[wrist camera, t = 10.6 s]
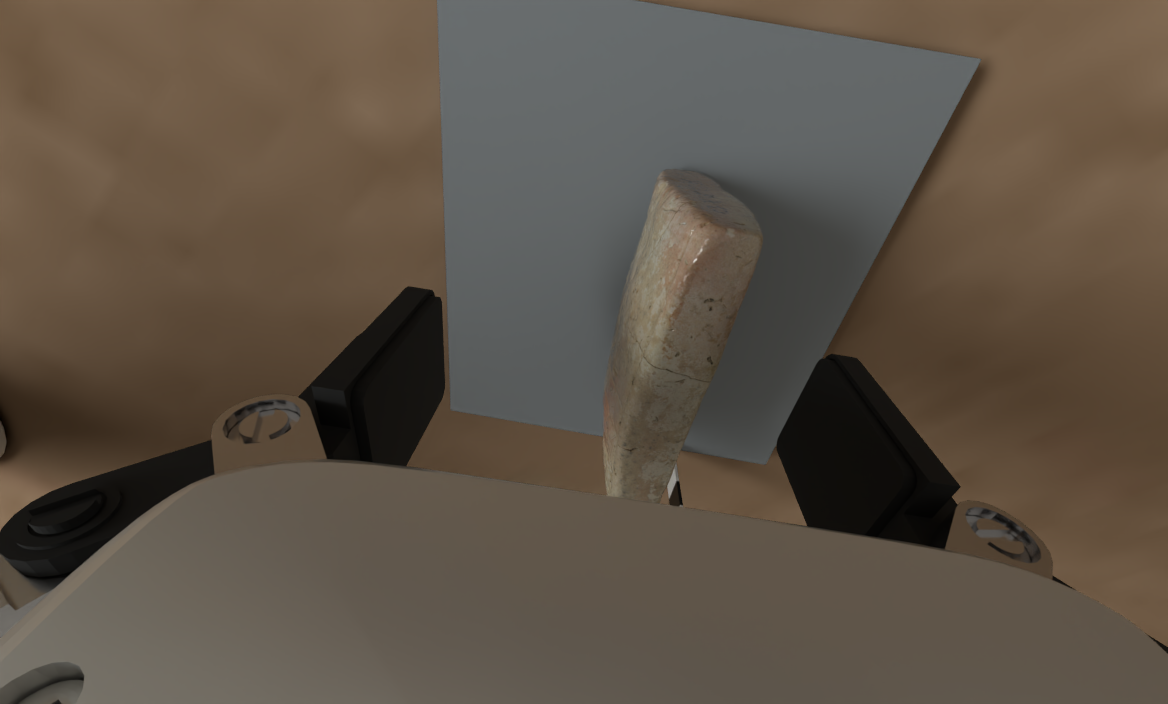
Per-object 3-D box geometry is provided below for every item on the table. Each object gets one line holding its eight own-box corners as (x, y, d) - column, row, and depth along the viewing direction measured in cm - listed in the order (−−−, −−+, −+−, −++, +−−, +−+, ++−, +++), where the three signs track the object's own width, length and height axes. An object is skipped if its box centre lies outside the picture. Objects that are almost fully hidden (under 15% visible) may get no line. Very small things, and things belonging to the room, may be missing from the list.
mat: (456, 398, 20) (450, 410, 20) (447, -28, 12) (435, -34, 11) (761, 451, 20) (765, 464, 20) (962, 59, 12) (981, 59, 11)
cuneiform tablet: (682, 584, 15) (855, 248, 9) (572, 569, 15) (659, 214, 8) (666, 456, 20) (767, 179, 13) (582, 444, 20) (642, 157, 13)
